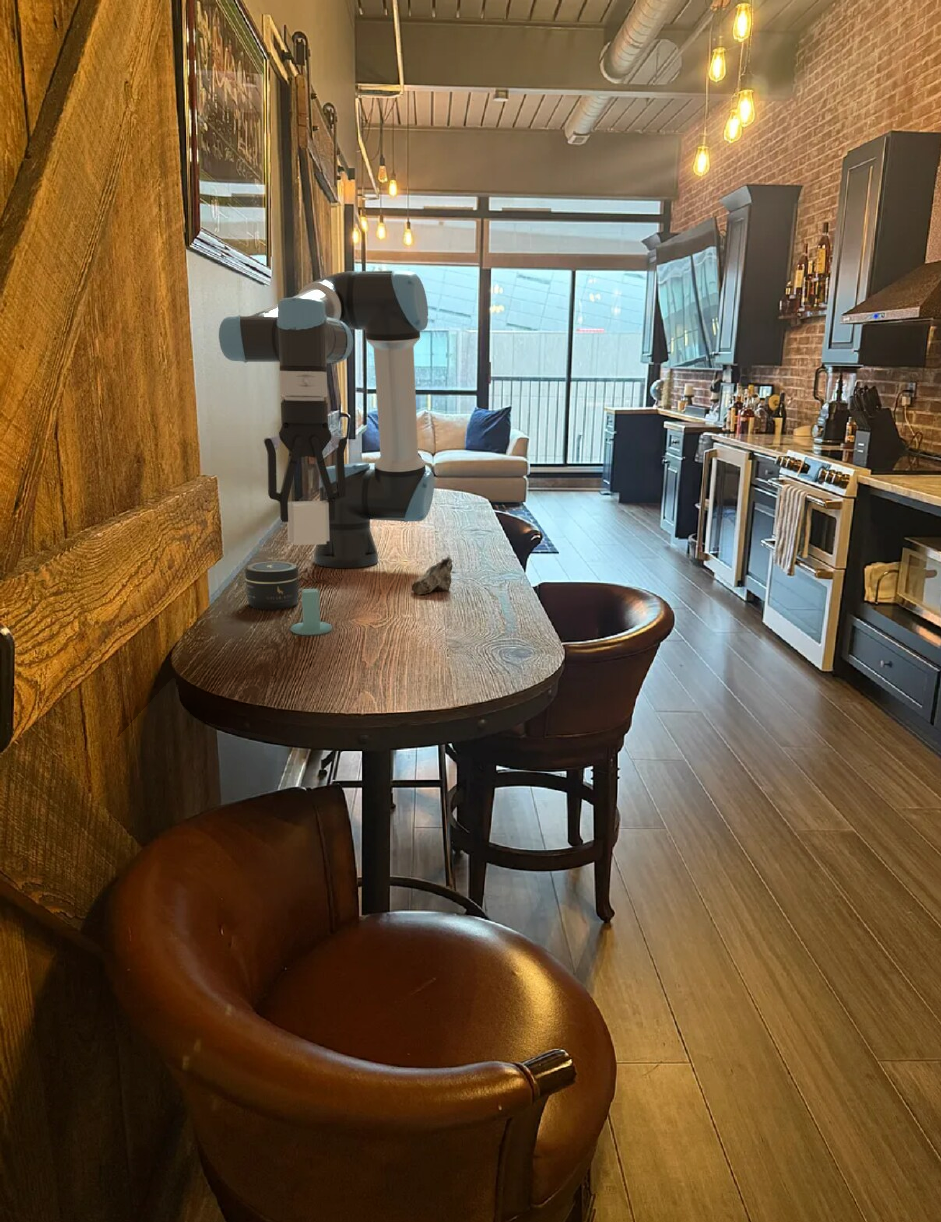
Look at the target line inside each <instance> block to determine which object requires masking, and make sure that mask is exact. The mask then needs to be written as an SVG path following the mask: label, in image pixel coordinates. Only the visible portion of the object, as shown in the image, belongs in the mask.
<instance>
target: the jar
mask: <svg viewBox="0 0 941 1222" xmlns="http://www.w3.org/2000/svg"><path fill="white" fill-rule="evenodd" d="M298 567H299V566H298V565H297V564H296V563H292V562H289V561H279V560H278V561H277V560H276V561H261V562H255V563H252V564H251V563H250V564H248V565H247V566H246V567H245V570H244V571H245V574H244V576H245V577H244V579H245V589H246V590H245V591H246V599H247V602H248V605H249V606H251V608H253V609H255V610H260V611H281V610H287V609H290V608H293V607H295V606H296V604H298V602H299V601H298V600H299V595H300V593H299V591H300V588H299V568H298Z"/></svg>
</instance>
